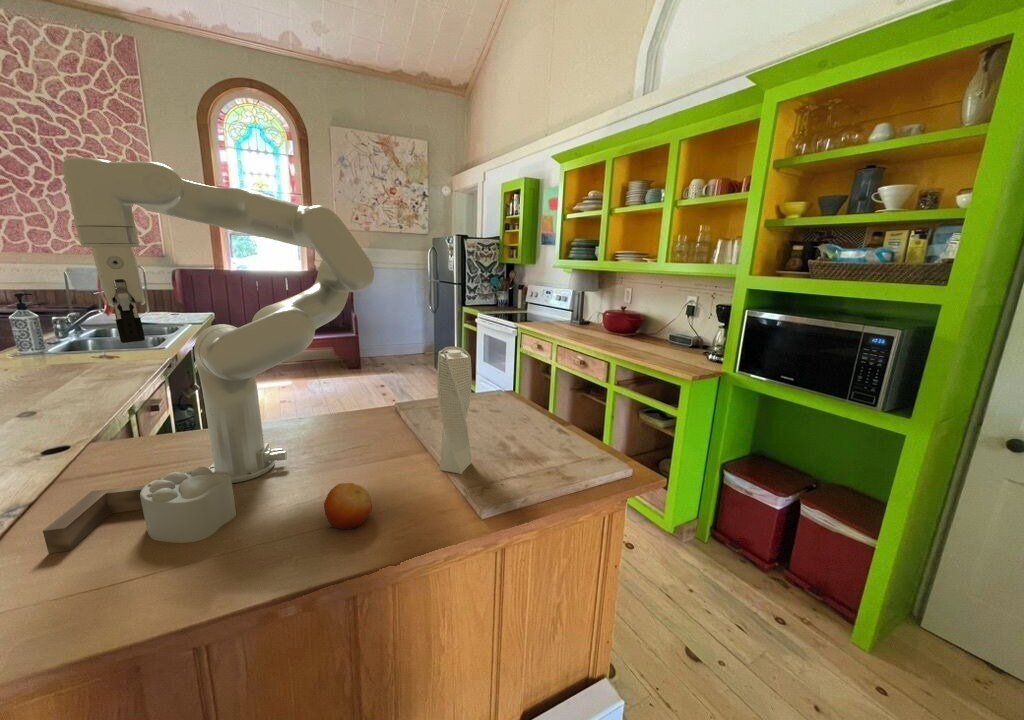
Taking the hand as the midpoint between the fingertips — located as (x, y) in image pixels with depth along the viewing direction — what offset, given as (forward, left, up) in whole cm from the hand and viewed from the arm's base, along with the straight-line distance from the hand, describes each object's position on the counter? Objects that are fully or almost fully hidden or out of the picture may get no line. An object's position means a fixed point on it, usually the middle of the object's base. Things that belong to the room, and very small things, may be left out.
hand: (132, 337), depth 79 cm
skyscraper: (-57, +4, -31) cm, 65 cm away
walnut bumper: (+2, +11, -31) cm, 33 cm away
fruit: (-36, +20, -31) cm, 52 cm away
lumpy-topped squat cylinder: (-9, +13, -31) cm, 35 cm away
